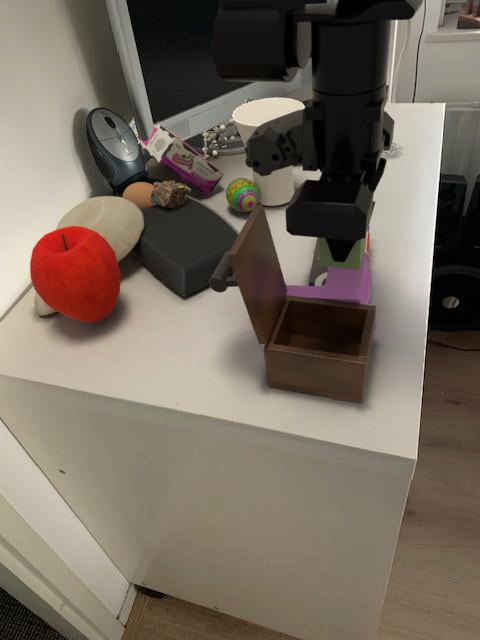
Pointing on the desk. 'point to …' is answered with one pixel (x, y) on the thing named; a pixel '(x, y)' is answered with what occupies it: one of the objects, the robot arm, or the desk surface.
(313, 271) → the electronic device
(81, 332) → the desk surface
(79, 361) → the desk surface
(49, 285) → the apple
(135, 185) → the egg
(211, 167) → the candy bar box
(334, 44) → the robot arm
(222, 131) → the molecular model
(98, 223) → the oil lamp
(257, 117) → the cup
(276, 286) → the lid
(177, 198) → the rock
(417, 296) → the desk surface
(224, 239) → the hard drive
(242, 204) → the egg
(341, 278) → the bracket
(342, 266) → the block
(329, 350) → the chest
